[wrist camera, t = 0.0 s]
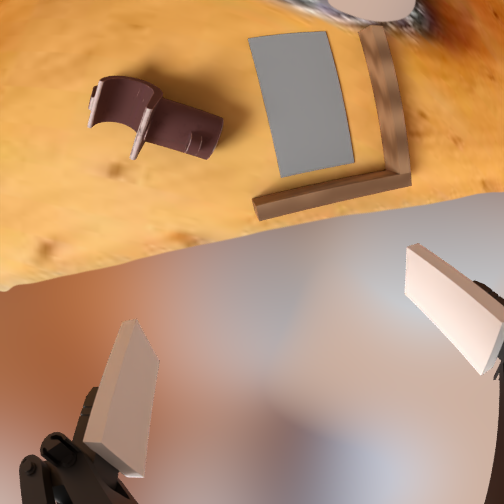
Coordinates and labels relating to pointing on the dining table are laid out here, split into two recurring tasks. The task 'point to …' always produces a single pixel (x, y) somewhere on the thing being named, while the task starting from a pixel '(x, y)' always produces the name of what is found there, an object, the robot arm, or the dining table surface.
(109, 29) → the dining table surface
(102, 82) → the bracket
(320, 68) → the mat
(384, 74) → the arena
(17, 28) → the dining table surface
